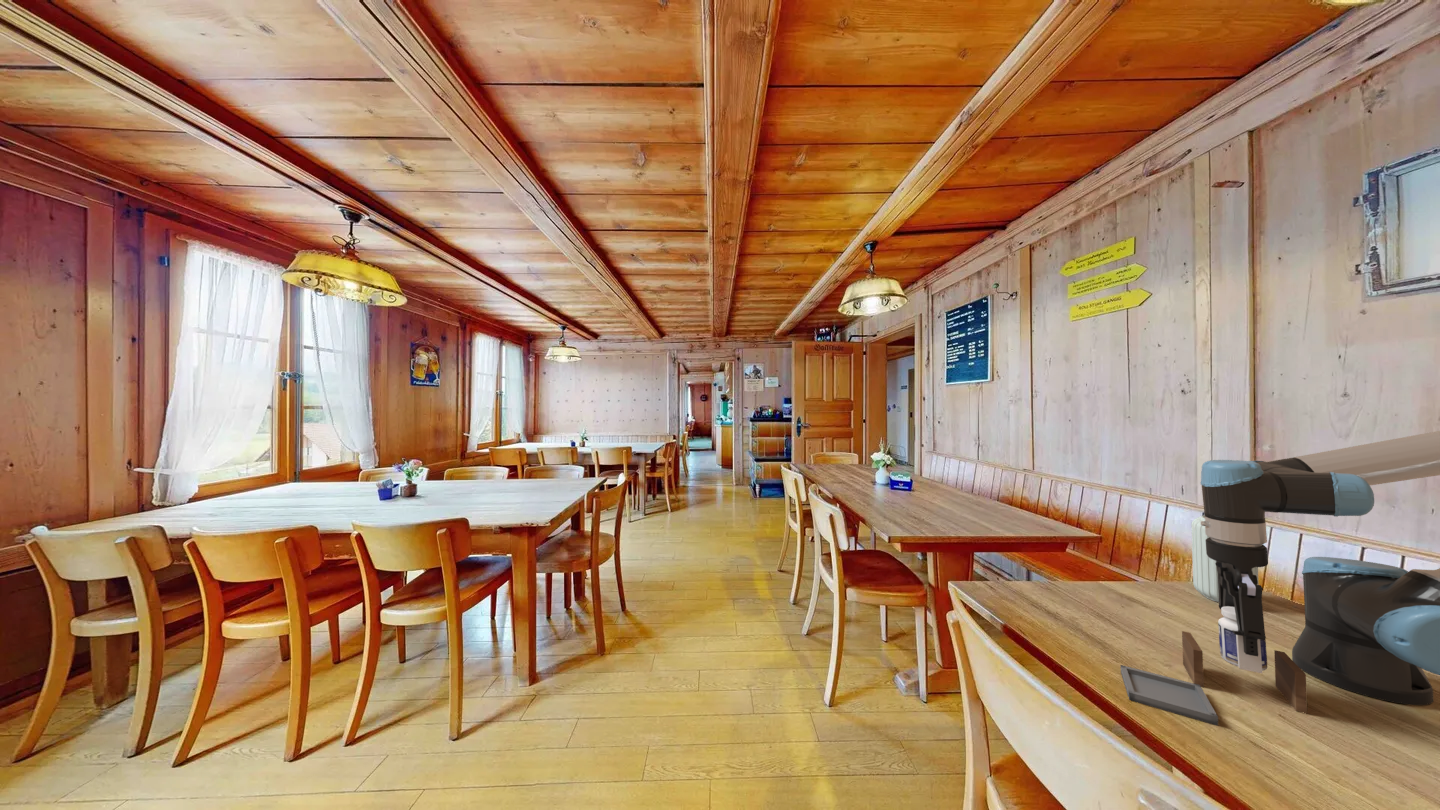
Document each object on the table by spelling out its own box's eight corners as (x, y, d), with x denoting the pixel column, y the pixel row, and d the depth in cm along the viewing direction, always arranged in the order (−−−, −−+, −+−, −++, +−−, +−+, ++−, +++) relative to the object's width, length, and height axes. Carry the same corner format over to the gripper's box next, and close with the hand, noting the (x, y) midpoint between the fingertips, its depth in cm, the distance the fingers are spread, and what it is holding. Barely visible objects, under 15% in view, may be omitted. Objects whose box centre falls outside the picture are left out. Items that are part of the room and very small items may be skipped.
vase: (1269, 613, 107) (1266, 526, 107) (1203, 603, 113) (1200, 521, 113) (1246, 595, 116) (1243, 516, 116) (1186, 587, 123) (1184, 511, 123)
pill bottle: (1278, 673, 77) (1274, 619, 77) (1240, 671, 78) (1236, 618, 78) (1246, 655, 83) (1242, 604, 83) (1211, 653, 84) (1207, 603, 84)
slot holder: (1285, 688, 80) (1284, 652, 80) (1307, 714, 74) (1305, 674, 74) (1183, 664, 88) (1181, 631, 88) (1194, 685, 82) (1193, 649, 82)
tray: (1200, 692, 80) (1199, 684, 80) (1218, 725, 72) (1218, 717, 72) (1120, 672, 86) (1120, 664, 86) (1129, 700, 78) (1129, 692, 78)
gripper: (1191, 526, 91) (1199, 633, 90) (1222, 552, 76) (1231, 681, 75) (1245, 530, 86) (1253, 643, 86) (1289, 559, 71) (1299, 696, 71)
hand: (1243, 660), depth 81 cm, fingers closed on pill bottle, 6 cm apart
